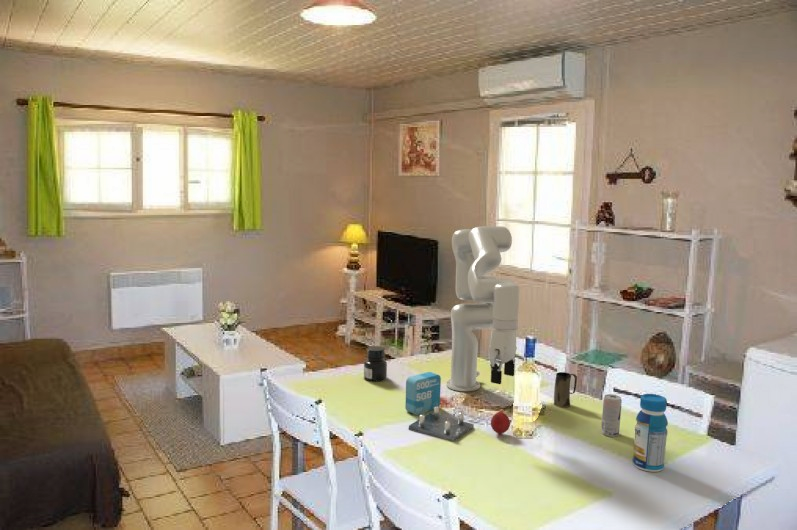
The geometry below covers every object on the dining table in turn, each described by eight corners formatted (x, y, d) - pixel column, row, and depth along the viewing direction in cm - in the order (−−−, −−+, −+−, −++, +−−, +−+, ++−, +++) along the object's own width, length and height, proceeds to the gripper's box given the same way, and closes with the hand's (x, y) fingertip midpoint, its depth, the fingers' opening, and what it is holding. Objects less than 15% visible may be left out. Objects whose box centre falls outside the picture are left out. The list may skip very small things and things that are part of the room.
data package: (413, 415, 216) (414, 380, 214) (404, 411, 219) (405, 377, 218) (440, 408, 224) (441, 374, 222) (431, 404, 227) (432, 370, 225)
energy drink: (620, 432, 206) (622, 395, 204) (617, 438, 201) (620, 401, 200) (602, 429, 208) (605, 393, 207) (599, 435, 204) (602, 398, 202)
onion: (497, 439, 198) (498, 414, 197) (486, 432, 203) (487, 408, 202) (513, 436, 201) (514, 411, 200) (501, 429, 206) (503, 405, 205)
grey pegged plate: (429, 416, 215) (430, 402, 215) (473, 427, 207) (474, 413, 206) (408, 429, 205) (409, 414, 204) (454, 441, 196) (454, 426, 195)
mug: (550, 404, 230) (552, 371, 228) (559, 400, 234) (561, 368, 232) (569, 410, 224) (571, 376, 222) (578, 407, 228) (580, 373, 226)
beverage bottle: (661, 475, 177) (667, 405, 174) (628, 467, 181) (634, 398, 178) (666, 464, 184) (672, 396, 181) (635, 457, 188) (641, 390, 186)
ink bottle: (363, 374, 258) (363, 345, 256) (385, 374, 259) (386, 345, 257) (364, 382, 248) (365, 351, 246) (387, 382, 249) (388, 351, 247)
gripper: (505, 317, 206) (502, 370, 209) (481, 327, 192) (479, 384, 194) (527, 320, 202) (525, 374, 205) (505, 331, 188) (502, 388, 190)
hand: (502, 379), depth 199 cm, fingers open, 9 cm apart
